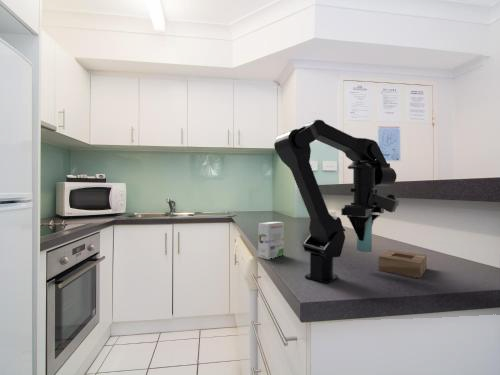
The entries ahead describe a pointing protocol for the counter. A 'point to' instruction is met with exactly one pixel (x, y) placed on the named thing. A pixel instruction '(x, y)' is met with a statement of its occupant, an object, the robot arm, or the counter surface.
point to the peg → (366, 239)
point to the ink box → (271, 240)
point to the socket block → (403, 263)
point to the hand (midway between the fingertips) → (364, 239)
